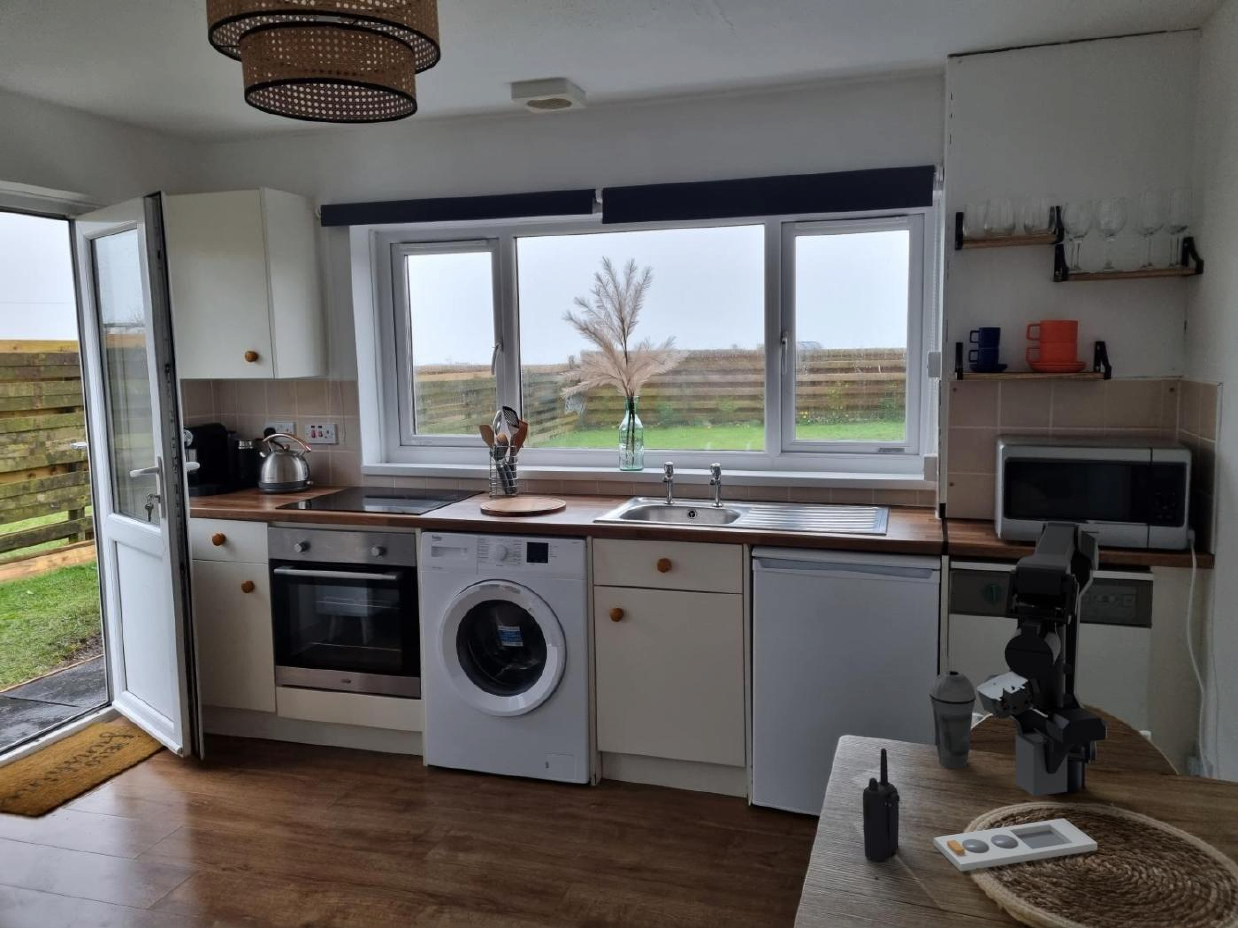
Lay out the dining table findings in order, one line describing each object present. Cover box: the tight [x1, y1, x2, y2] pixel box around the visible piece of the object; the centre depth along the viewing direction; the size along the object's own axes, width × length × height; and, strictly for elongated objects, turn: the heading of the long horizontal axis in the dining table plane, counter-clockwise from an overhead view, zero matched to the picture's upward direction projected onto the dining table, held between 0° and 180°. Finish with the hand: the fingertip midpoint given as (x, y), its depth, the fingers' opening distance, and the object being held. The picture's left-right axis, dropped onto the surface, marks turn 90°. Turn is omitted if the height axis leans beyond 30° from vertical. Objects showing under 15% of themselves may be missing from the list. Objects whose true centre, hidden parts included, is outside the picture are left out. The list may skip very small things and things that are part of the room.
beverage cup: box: [929, 645, 977, 769], centre depth 155 cm, size 7×7×20 cm
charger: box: [1015, 732, 1067, 797], centre depth 127 cm, size 5×4×7 cm
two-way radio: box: [862, 747, 901, 862], centre depth 128 cm, size 6×4×15 cm
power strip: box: [933, 817, 1098, 872], centre depth 127 cm, size 20×7×3 cm, turn 100°
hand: (1041, 766), depth 127 cm, fingers closed on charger, 4 cm apart
